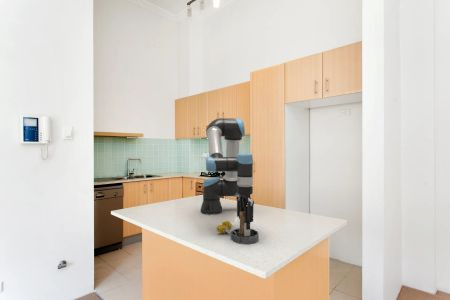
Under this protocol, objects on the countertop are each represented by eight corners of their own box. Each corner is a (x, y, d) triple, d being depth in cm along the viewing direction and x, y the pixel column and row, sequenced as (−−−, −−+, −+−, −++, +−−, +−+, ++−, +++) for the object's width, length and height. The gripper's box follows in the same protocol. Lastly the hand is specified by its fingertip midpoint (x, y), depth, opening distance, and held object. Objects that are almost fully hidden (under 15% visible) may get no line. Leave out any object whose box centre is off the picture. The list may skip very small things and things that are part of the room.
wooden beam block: (239, 236, 118) (239, 211, 118) (246, 235, 120) (246, 211, 120) (243, 238, 115) (243, 213, 115) (249, 237, 116) (249, 212, 117)
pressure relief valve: (213, 232, 124) (226, 228, 132) (232, 242, 116) (244, 236, 124) (215, 222, 123) (227, 218, 131) (233, 231, 116) (245, 226, 124)
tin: (226, 236, 121) (226, 229, 121) (249, 232, 126) (249, 226, 126) (239, 245, 109) (239, 238, 109) (263, 241, 114) (263, 234, 114)
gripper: (230, 183, 124) (230, 230, 124) (246, 188, 108) (246, 241, 108) (243, 182, 127) (243, 228, 127) (261, 187, 111) (261, 239, 111)
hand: (244, 234), depth 117 cm, fingers open, 4 cm apart
